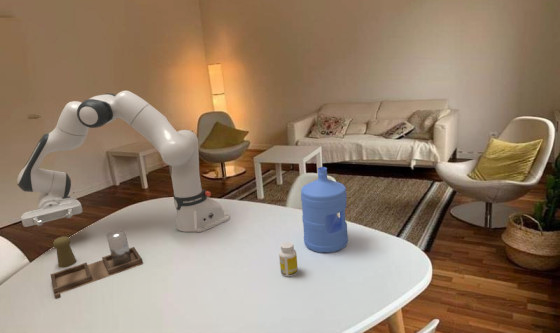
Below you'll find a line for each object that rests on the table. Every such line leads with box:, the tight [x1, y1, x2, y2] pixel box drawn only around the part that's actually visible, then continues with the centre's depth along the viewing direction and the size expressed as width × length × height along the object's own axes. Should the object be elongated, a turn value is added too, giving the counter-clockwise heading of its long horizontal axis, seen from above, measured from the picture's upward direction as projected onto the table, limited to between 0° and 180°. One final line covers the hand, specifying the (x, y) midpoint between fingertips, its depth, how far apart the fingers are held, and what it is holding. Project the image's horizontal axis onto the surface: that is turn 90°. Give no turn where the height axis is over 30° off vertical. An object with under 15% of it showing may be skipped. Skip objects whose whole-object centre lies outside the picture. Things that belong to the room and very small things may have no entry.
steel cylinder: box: [106, 228, 132, 266], centre depth 134 cm, size 6×6×11 cm
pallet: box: [50, 246, 144, 299], centre depth 131 cm, size 27×13×3 cm, turn 123°
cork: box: [52, 236, 77, 269], centre depth 136 cm, size 6×6×11 cm
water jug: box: [300, 166, 349, 253], centre depth 135 cm, size 16×16×28 cm
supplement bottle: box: [278, 241, 299, 277], centre depth 121 cm, size 5×5×10 cm
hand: (54, 219), depth 144 cm, fingers open, 8 cm apart
